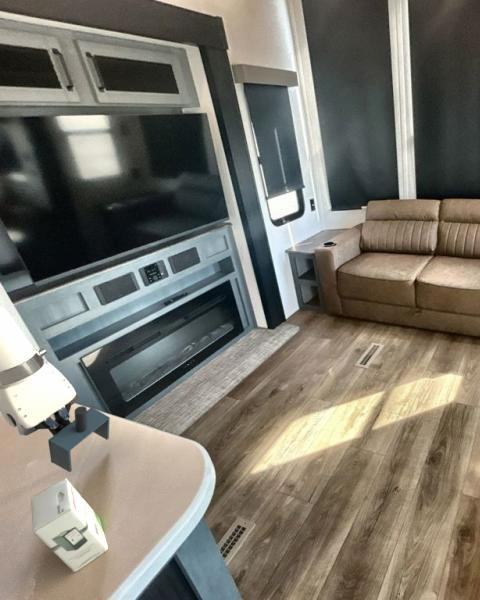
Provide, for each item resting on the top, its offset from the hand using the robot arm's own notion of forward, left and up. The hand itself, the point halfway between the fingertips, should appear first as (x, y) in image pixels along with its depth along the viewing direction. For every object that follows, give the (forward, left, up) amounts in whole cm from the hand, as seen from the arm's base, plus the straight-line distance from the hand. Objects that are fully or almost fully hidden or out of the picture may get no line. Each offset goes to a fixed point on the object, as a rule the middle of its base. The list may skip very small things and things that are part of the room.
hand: (67, 436), depth 78 cm
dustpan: (+4, 0, +4) cm, 6 cm away
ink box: (+21, -15, -7) cm, 27 cm away
